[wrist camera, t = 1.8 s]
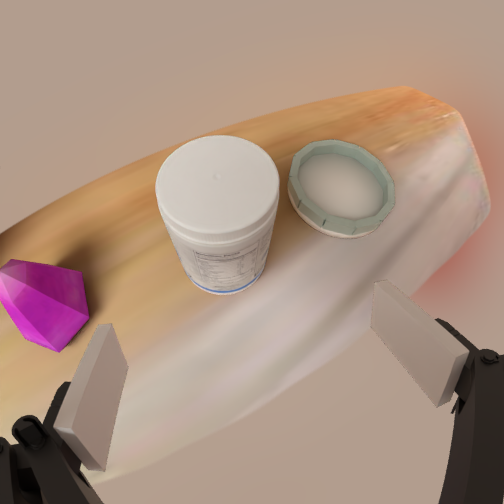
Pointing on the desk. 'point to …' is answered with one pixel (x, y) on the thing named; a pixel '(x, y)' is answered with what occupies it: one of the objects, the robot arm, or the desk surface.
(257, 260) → the supplement tub
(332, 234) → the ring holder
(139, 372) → the desk surface
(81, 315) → the magenta faceted rounded piece
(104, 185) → the desk surface
